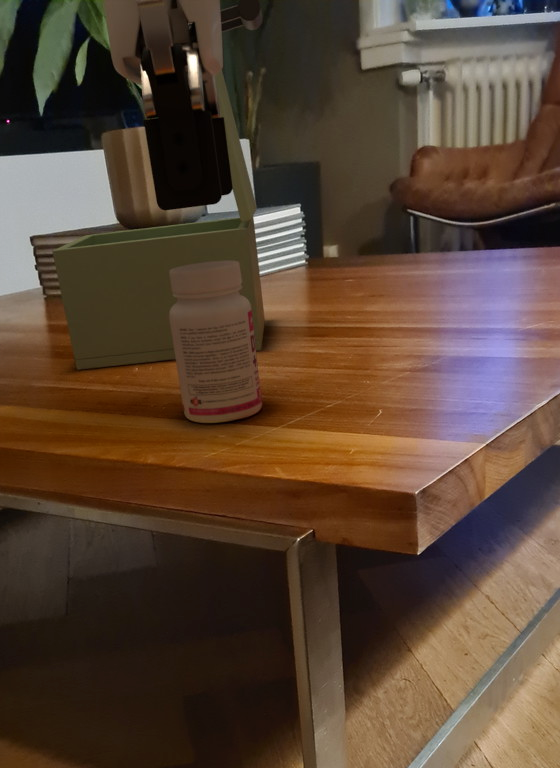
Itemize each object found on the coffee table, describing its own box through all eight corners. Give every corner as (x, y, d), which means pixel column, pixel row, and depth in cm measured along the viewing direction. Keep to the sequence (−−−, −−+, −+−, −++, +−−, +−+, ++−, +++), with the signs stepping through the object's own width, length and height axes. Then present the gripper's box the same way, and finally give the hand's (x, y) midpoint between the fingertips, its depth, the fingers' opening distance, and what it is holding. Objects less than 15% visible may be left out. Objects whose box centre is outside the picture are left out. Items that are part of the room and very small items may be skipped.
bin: (76, 370, 72) (51, 250, 68) (105, 339, 83) (85, 235, 79) (261, 350, 71) (247, 228, 67) (264, 322, 82) (253, 215, 78)
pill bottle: (278, 410, 54) (261, 260, 50) (207, 429, 52) (184, 274, 48) (239, 398, 58) (220, 257, 54) (171, 415, 56) (148, 270, 52)
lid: (176, -25, 60) (248, -48, 59) (193, 1, 71) (254, -18, 70) (241, 222, 67) (306, 204, 66) (248, 211, 78) (303, 195, 77)
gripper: (96, -141, 50) (152, 202, 58) (10, -270, 34) (102, 222, 42) (232, -162, 49) (270, 186, 57) (206, -302, 34) (263, 201, 42)
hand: (199, 201), depth 50 cm, fingers open, 9 cm apart
